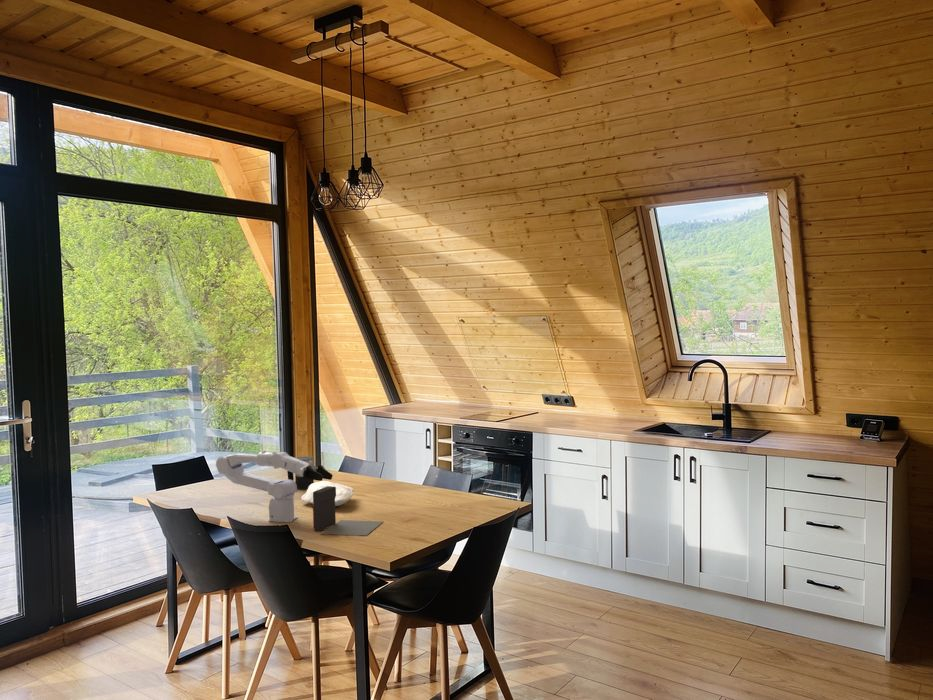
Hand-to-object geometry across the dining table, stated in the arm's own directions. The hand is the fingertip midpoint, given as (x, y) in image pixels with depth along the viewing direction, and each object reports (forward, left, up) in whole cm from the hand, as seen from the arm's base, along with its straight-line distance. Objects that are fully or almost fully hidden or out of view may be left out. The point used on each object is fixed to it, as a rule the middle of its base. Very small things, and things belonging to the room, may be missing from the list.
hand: (327, 477), depth 294 cm
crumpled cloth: (-12, +33, -18) cm, 40 cm away
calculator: (+1, -6, -18) cm, 19 cm away
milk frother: (-40, +59, -18) cm, 73 cm away
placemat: (+13, -6, -18) cm, 23 cm away
